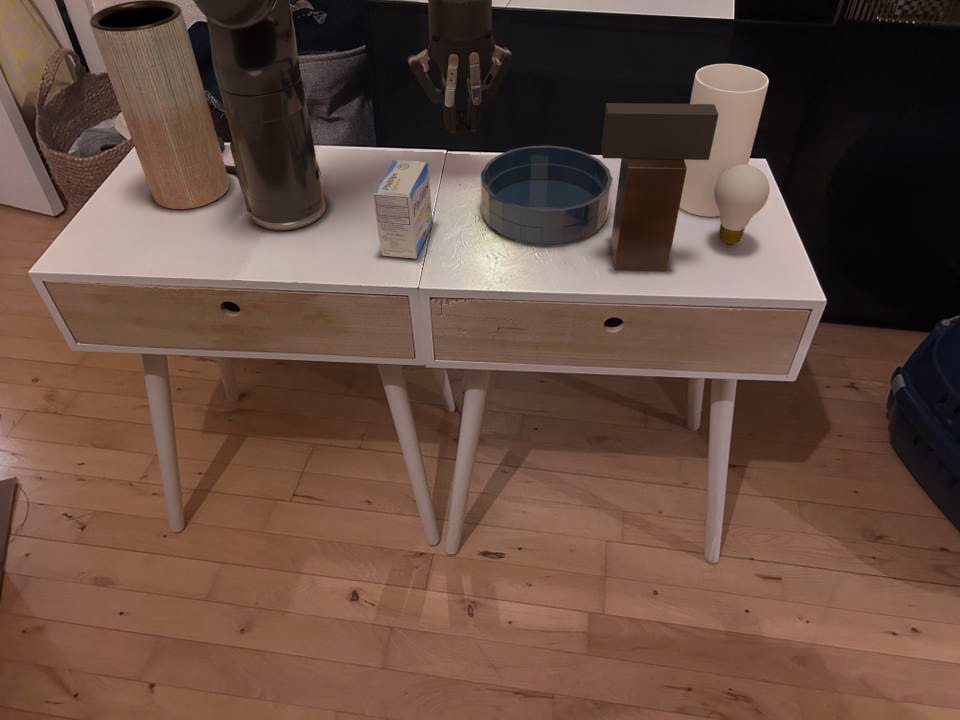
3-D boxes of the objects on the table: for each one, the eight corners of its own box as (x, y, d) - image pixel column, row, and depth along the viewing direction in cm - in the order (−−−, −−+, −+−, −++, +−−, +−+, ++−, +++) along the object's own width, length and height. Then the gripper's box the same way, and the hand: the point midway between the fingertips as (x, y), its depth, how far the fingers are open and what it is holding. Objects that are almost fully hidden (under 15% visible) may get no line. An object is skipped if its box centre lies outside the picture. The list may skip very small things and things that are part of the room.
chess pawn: (460, 134, 97) (460, 112, 95) (450, 129, 98) (450, 107, 96) (472, 130, 98) (472, 108, 96) (461, 125, 99) (461, 103, 97)
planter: (140, 208, 96) (71, 28, 81) (172, 170, 104) (114, -2, 88) (213, 212, 95) (158, 30, 80) (241, 173, 103) (195, 0, 87)
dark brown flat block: (602, 158, 78) (607, 113, 74) (601, 147, 79) (605, 102, 76) (708, 160, 77) (718, 114, 73) (705, 149, 79) (714, 103, 75)
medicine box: (416, 260, 87) (410, 195, 81) (380, 256, 88) (372, 192, 82) (433, 224, 93) (428, 161, 87) (399, 221, 93) (392, 158, 87)
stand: (614, 270, 85) (628, 167, 76) (610, 240, 89) (623, 140, 80) (667, 271, 85) (687, 168, 76) (661, 241, 89) (679, 141, 80)
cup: (743, 191, 97) (774, 69, 86) (730, 222, 92) (762, 97, 81) (681, 178, 100) (703, 59, 89) (665, 208, 94) (687, 85, 83)
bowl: (457, 222, 93) (455, 186, 89) (523, 168, 102) (524, 134, 99) (569, 262, 86) (572, 225, 83) (628, 201, 96) (633, 166, 92)
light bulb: (720, 224, 92) (738, 149, 85) (763, 243, 88) (785, 167, 82) (693, 243, 89) (709, 168, 82) (736, 263, 85) (757, 187, 79)
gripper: (509, -24, 90) (505, 113, 102) (396, -17, 87) (405, 122, 99) (525, -5, 84) (519, 137, 96) (405, 3, 82) (414, 148, 94)
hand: (461, 129), depth 98 cm, fingers closed on chess pawn, 2 cm apart
